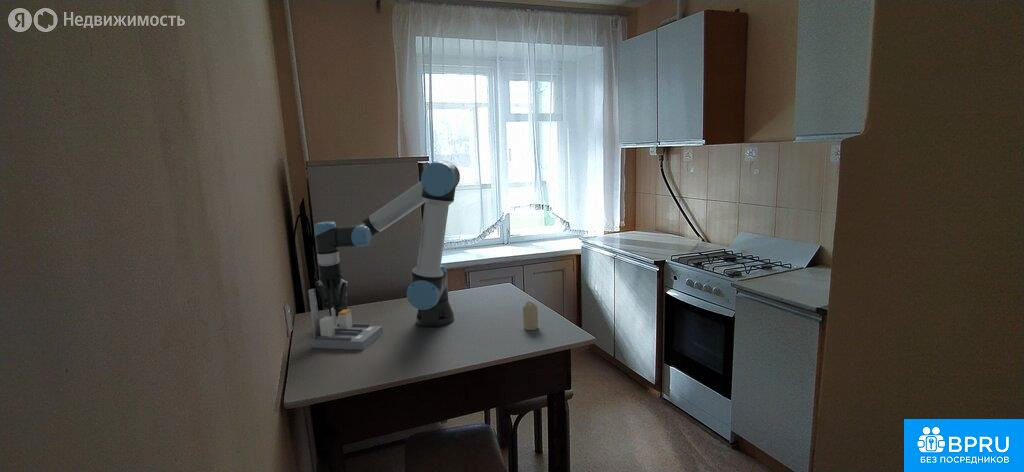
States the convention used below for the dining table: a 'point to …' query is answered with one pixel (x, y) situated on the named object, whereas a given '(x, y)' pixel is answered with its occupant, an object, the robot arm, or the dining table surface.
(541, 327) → the dining table surface
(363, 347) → the panel
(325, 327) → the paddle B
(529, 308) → the candle
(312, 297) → the post
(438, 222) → the robot arm
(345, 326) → the grey orange block
